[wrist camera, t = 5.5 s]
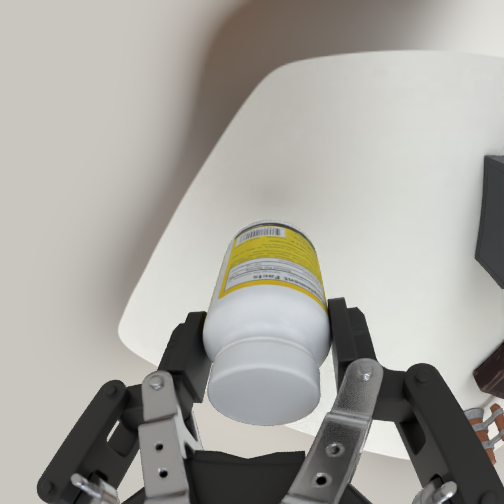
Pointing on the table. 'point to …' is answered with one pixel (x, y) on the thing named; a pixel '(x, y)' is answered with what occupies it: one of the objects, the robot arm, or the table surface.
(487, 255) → the dark grey open box
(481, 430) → the mug
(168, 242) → the table surface
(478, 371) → the diary
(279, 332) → the supplement bottle
